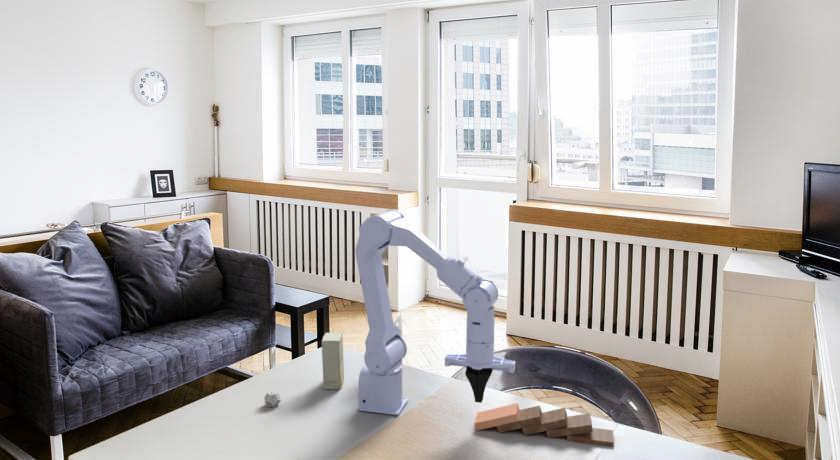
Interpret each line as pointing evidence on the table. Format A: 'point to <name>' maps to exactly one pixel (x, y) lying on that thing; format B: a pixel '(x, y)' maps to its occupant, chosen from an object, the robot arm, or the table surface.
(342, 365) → the skincare box
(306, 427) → the table surface
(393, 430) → the table surface
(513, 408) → the head domino
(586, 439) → the domino
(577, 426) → the domino
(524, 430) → the domino
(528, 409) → the domino
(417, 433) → the table surface
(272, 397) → the game die
